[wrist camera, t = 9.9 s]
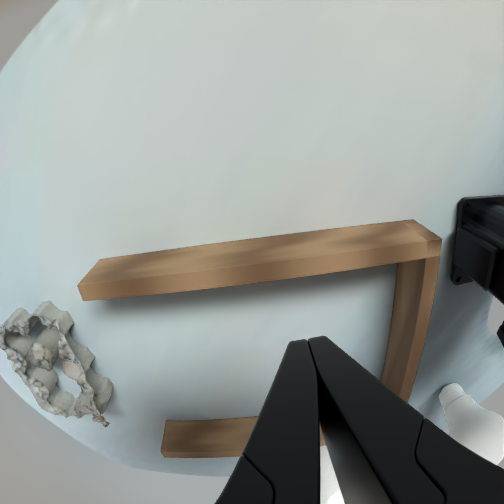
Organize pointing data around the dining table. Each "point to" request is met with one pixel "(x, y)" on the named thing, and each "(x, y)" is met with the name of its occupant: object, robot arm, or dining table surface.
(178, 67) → the dining table surface
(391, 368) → the open wooden frame
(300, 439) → the robot arm
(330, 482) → the roll
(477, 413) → the lightbulb
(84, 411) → the egg carton
